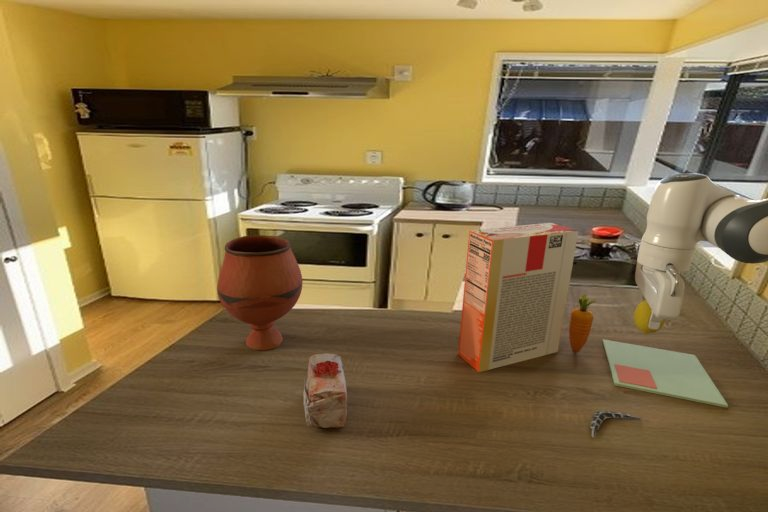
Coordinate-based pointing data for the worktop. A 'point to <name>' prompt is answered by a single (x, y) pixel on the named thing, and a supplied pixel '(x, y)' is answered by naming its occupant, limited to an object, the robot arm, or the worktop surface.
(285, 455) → the worktop surface
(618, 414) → the patterned boomerang
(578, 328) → the carrot
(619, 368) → the mat
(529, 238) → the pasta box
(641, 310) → the lemon
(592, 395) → the worktop surface
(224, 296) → the goblet
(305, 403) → the food item
